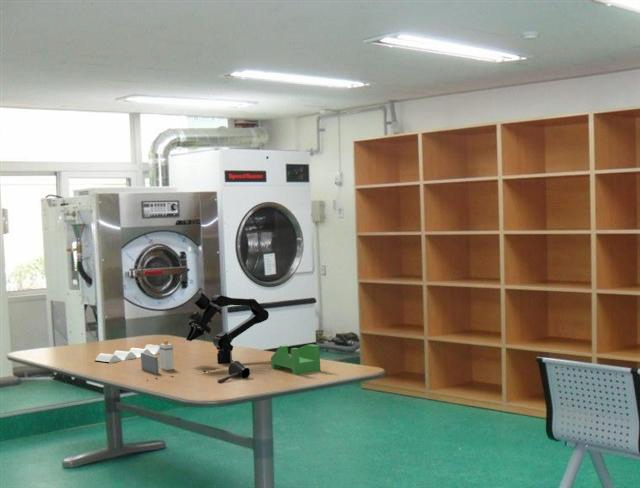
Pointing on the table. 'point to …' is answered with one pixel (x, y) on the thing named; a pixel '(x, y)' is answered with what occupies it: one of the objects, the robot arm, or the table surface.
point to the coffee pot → (236, 371)
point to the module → (166, 356)
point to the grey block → (150, 363)
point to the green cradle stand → (297, 359)
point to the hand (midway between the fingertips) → (188, 340)
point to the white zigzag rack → (128, 354)
